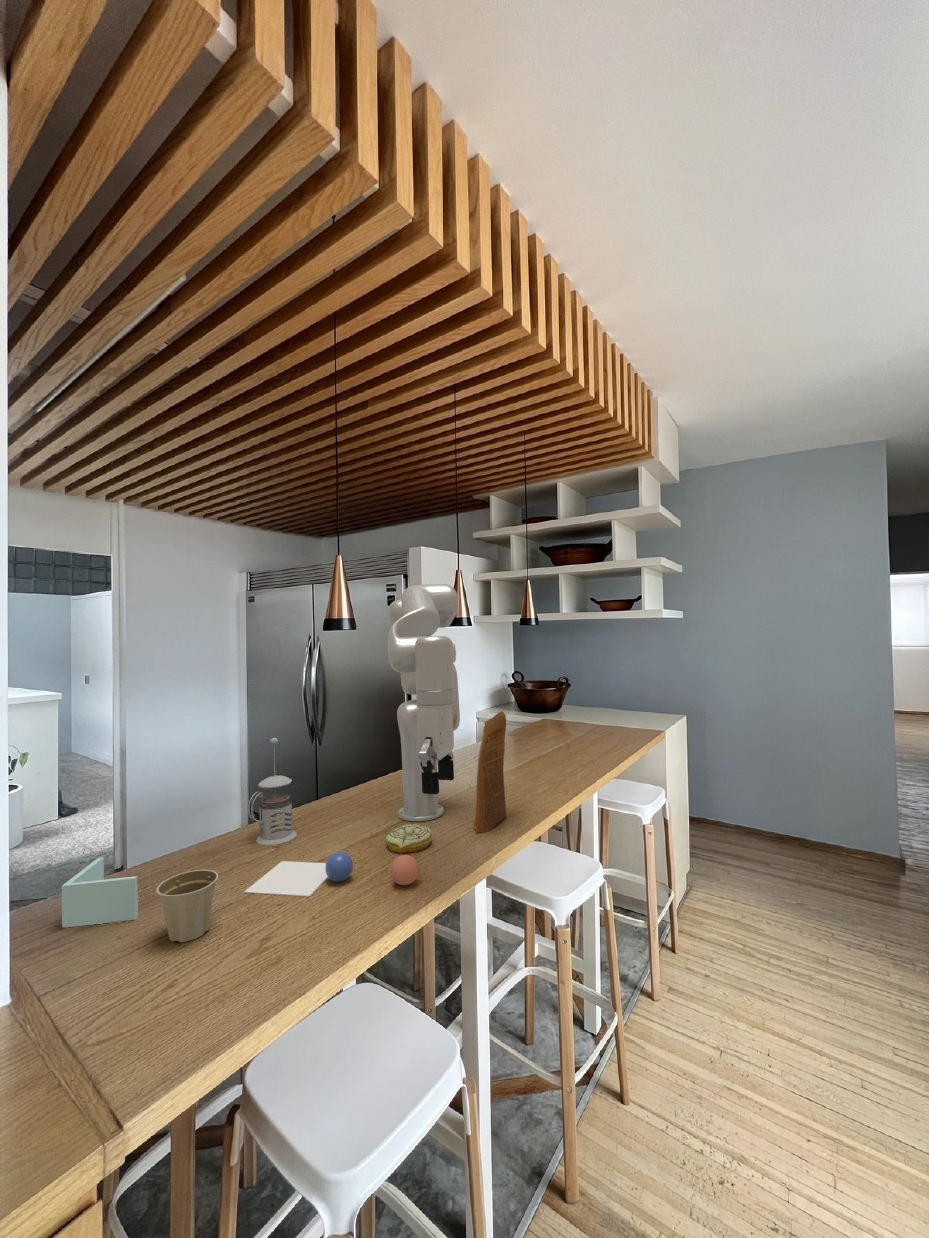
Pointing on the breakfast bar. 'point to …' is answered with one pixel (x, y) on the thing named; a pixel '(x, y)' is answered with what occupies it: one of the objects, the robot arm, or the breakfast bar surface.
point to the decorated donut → (409, 838)
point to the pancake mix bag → (491, 776)
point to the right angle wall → (98, 897)
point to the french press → (274, 811)
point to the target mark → (291, 879)
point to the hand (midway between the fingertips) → (438, 786)
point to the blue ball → (339, 866)
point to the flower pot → (188, 903)
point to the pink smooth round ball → (404, 870)
